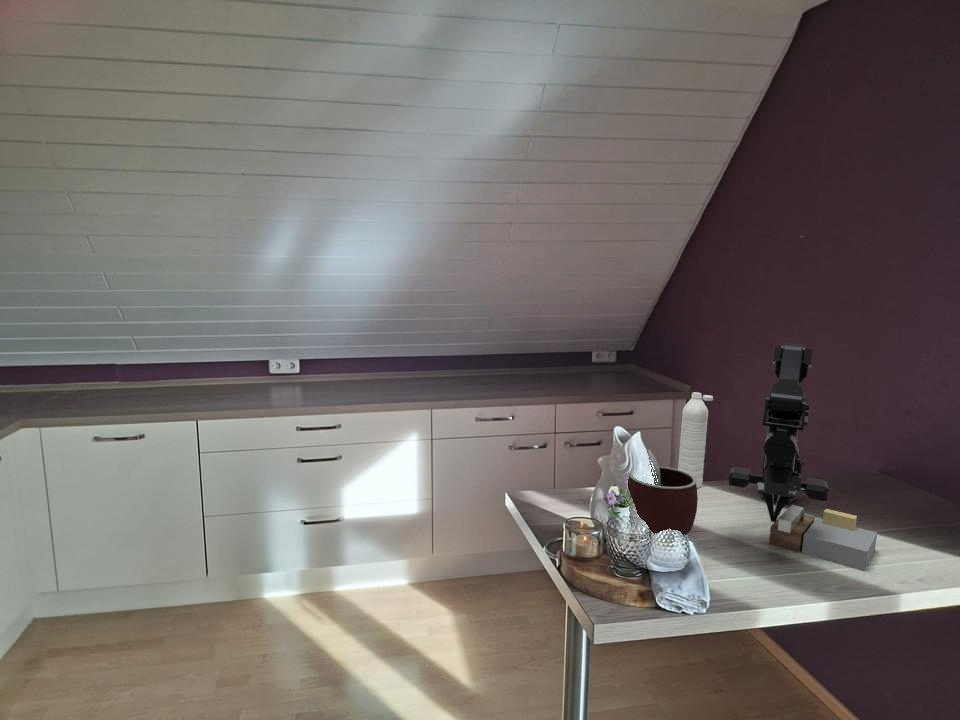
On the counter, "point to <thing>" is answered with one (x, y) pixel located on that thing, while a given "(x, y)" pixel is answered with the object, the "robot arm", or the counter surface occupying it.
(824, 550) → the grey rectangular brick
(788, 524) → the bar
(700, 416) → the water bottle
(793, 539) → the jamb block
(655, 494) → the mate gourd
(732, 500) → the counter surface
